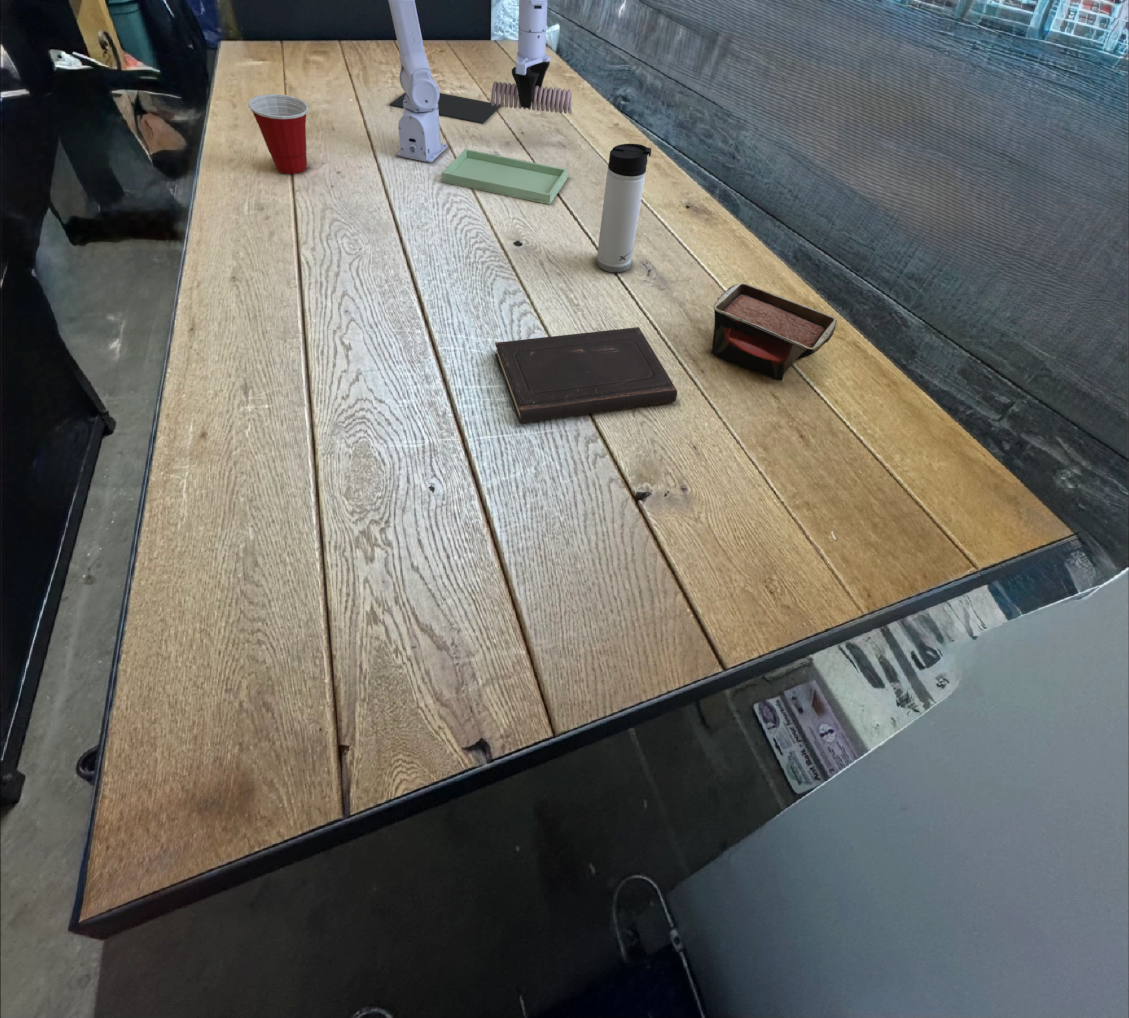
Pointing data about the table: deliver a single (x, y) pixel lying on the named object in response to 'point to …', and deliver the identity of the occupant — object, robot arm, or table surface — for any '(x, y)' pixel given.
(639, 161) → the travel mug
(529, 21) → the robot arm
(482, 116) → the mat
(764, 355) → the baking dish
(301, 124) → the plastic cup
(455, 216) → the table surface
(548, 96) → the coil
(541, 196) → the tray
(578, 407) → the hardcover book
